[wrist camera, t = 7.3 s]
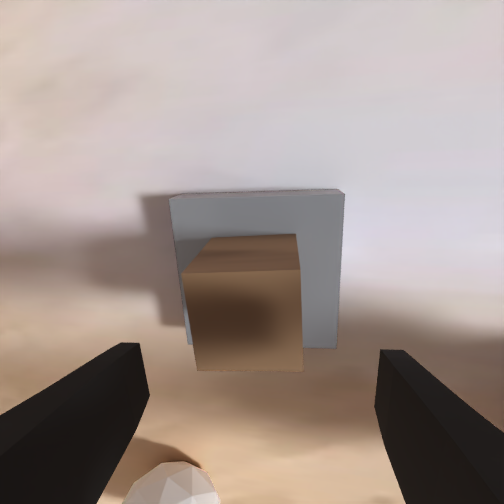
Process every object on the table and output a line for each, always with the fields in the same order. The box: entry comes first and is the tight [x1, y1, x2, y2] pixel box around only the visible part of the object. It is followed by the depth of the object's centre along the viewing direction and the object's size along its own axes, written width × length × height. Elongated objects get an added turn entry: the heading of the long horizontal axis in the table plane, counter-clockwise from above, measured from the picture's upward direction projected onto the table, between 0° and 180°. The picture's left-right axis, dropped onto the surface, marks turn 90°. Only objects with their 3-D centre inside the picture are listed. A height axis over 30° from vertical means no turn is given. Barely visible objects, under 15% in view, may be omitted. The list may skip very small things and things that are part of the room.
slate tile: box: [169, 189, 345, 349], centre depth 17 cm, size 9×9×2 cm
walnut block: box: [181, 234, 304, 372], centre depth 14 cm, size 4×4×5 cm
